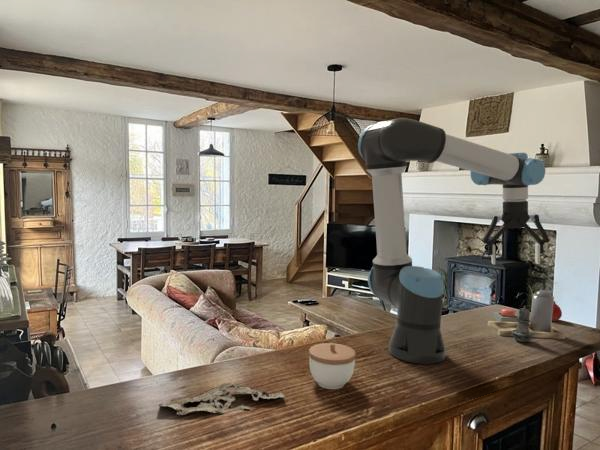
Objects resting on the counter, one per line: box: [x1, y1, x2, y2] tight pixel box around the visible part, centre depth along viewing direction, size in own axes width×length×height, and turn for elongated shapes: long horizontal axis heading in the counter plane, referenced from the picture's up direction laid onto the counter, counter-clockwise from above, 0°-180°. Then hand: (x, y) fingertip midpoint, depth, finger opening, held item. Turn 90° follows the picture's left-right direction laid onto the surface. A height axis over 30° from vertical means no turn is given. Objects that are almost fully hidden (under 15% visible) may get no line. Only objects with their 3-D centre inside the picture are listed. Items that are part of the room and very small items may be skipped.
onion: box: [552, 300, 563, 322], centre depth 160 cm, size 6×6×8 cm
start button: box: [500, 307, 516, 318], centre depth 157 cm, size 4×4×3 cm
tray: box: [487, 320, 566, 340], centre depth 145 cm, size 20×10×2 cm, turn 87°
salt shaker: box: [512, 305, 533, 343], centre depth 136 cm, size 6×6×12 cm
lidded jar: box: [308, 342, 357, 390], centre depth 104 cm, size 11×11×9 cm
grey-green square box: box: [493, 311, 519, 322], centre depth 157 cm, size 7×7×3 cm
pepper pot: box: [529, 289, 555, 332], centre depth 145 cm, size 6×6×14 cm
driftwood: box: [158, 382, 286, 416], centre depth 93 cm, size 25×10×5 cm
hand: (515, 263), depth 151 cm, fingers open, 13 cm apart
